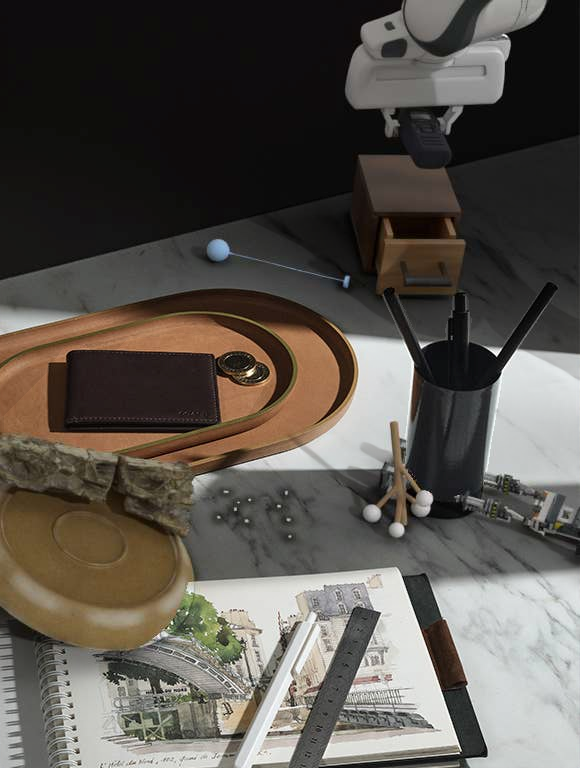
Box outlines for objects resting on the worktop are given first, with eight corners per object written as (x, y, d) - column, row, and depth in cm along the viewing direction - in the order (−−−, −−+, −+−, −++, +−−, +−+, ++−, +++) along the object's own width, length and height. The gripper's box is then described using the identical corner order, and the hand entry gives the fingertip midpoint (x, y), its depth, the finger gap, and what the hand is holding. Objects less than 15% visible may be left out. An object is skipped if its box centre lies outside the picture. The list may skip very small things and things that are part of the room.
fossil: (178, 450, 136) (216, 476, 127) (158, 515, 138) (194, 545, 129) (-14, 407, 128) (12, 432, 119) (-33, 477, 129) (-9, 507, 120)
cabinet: (449, 273, 174) (461, 212, 168) (364, 272, 174) (374, 211, 168) (429, 214, 186) (440, 155, 180) (349, 214, 186) (358, 154, 180)
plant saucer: (-11, 622, 113) (-20, 646, 115) (233, 636, 122) (220, 658, 123) (-42, 441, 130) (-49, 465, 132) (173, 465, 139) (163, 487, 141)
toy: (401, 423, 142) (683, 499, 130) (396, 470, 146) (669, 547, 134) (376, 466, 137) (668, 549, 125) (372, 513, 141) (654, 597, 129)
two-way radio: (416, 148, 162) (387, 84, 172) (406, 177, 165) (378, 113, 175) (457, 149, 163) (426, 86, 173) (447, 178, 166) (417, 115, 176)
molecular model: (344, 297, 172) (345, 284, 169) (204, 263, 177) (203, 249, 174) (350, 279, 173) (352, 266, 170) (211, 245, 178) (210, 232, 175)
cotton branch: (435, 421, 132) (445, 533, 134) (414, 412, 138) (424, 519, 140) (366, 432, 131) (377, 544, 133) (348, 422, 137) (359, 529, 140)
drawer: (462, 316, 165) (473, 264, 160) (382, 315, 165) (391, 264, 160) (435, 236, 180) (444, 187, 175) (361, 236, 180) (369, 187, 175)
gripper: (505, 20, 163) (484, 120, 172) (349, 25, 162) (336, 126, 171) (522, 40, 159) (499, 142, 168) (361, 46, 157) (347, 148, 166)
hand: (416, 134), depth 169 cm, fingers closed on two-way radio, 5 cm apart
